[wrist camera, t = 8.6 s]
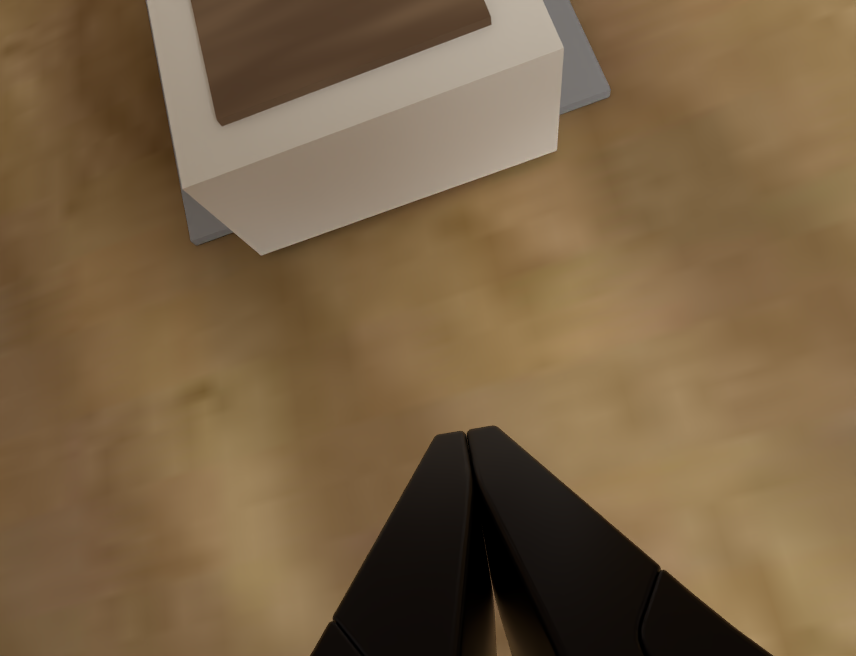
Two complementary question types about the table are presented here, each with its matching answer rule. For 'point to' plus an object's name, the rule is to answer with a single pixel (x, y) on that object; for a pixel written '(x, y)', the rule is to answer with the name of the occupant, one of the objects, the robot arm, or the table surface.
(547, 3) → the mat
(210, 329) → the table surface
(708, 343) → the table surface
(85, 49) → the table surface
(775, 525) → the table surface
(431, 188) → the picture frame
